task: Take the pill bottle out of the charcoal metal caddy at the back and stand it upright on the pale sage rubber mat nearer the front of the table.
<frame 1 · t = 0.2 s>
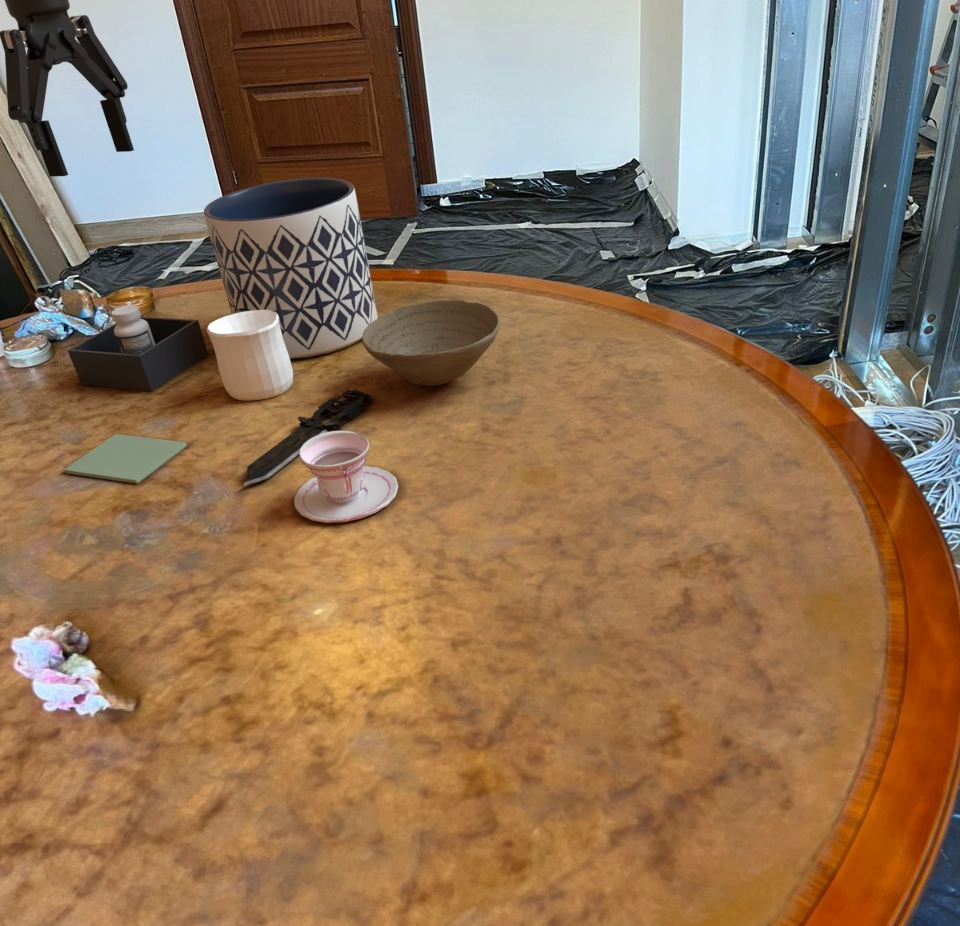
hand: (93, 163, 125), 28 cm above the table, tool pointing down, fingers open, 13 cm apart
pill bottle: (145, 367, 138), resting on caddy
caddy: (145, 368, 138), on the table
planter: (310, 334, 143), on the table
knife: (308, 442, 113), on the table
bowl: (437, 381, 123), on the table
mat: (126, 459, 114), on the table
cup: (262, 389, 128), on the table
teacup: (347, 497, 101), on the table
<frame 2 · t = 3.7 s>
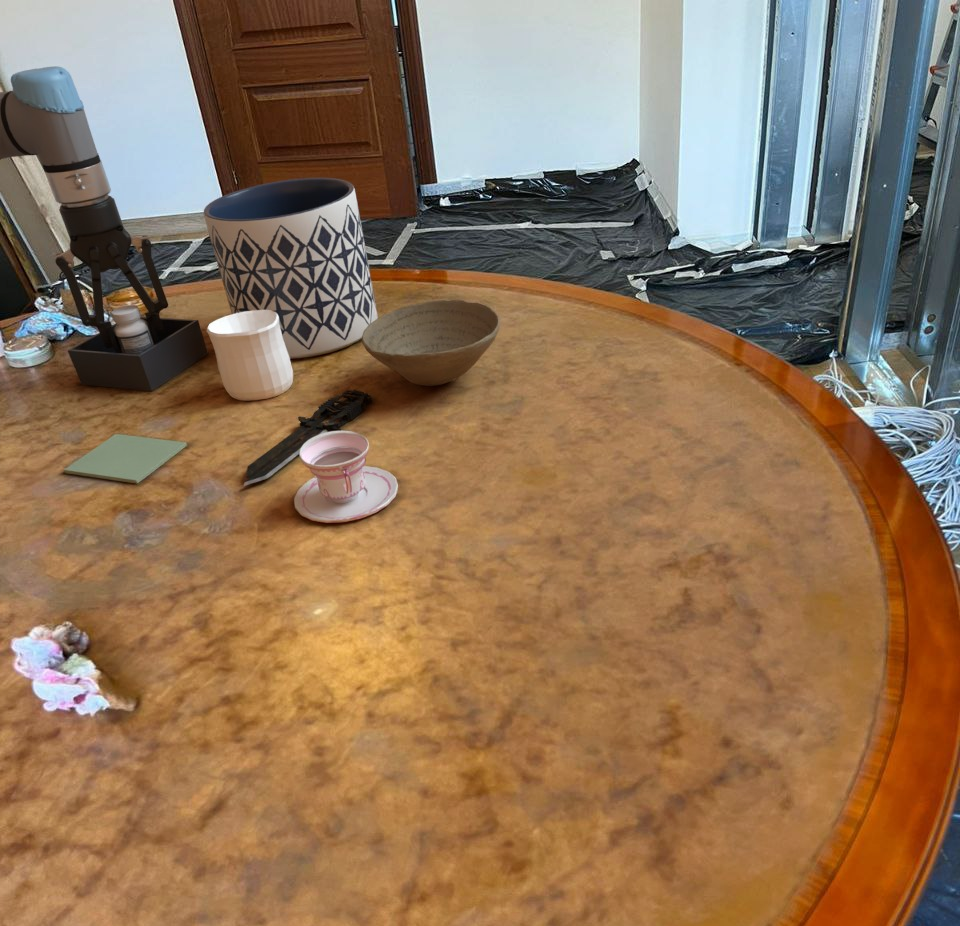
hand: (143, 360, 138), 1 cm above the table, tool pointing down, fingers closed on pill bottle, 5 cm apart
pill bottle: (145, 367, 138), resting on caddy, touching gripper
everything else where it was.
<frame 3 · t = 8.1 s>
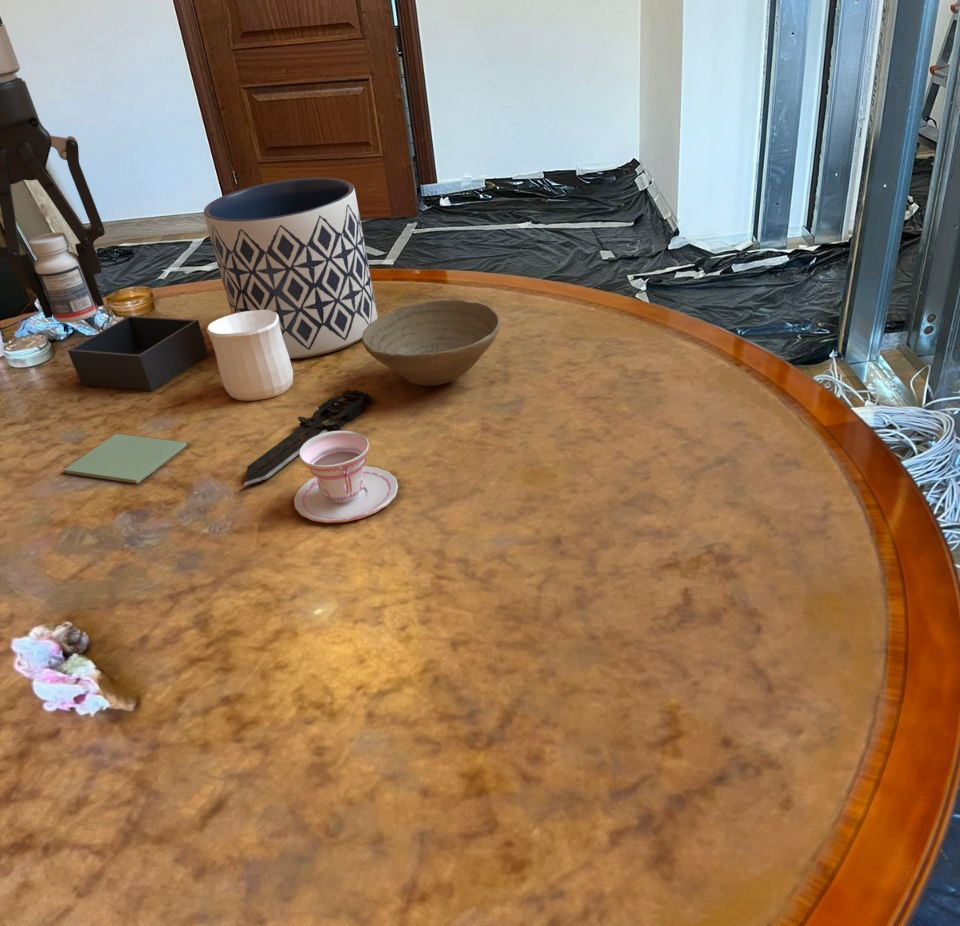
hand: (74, 308, 105), 18 cm above the table, tool pointing down, fingers closed on pill bottle, 5 cm apart
pill bottle: (78, 317, 106), point 17 cm above the table, touching gripper
everything else where it was.
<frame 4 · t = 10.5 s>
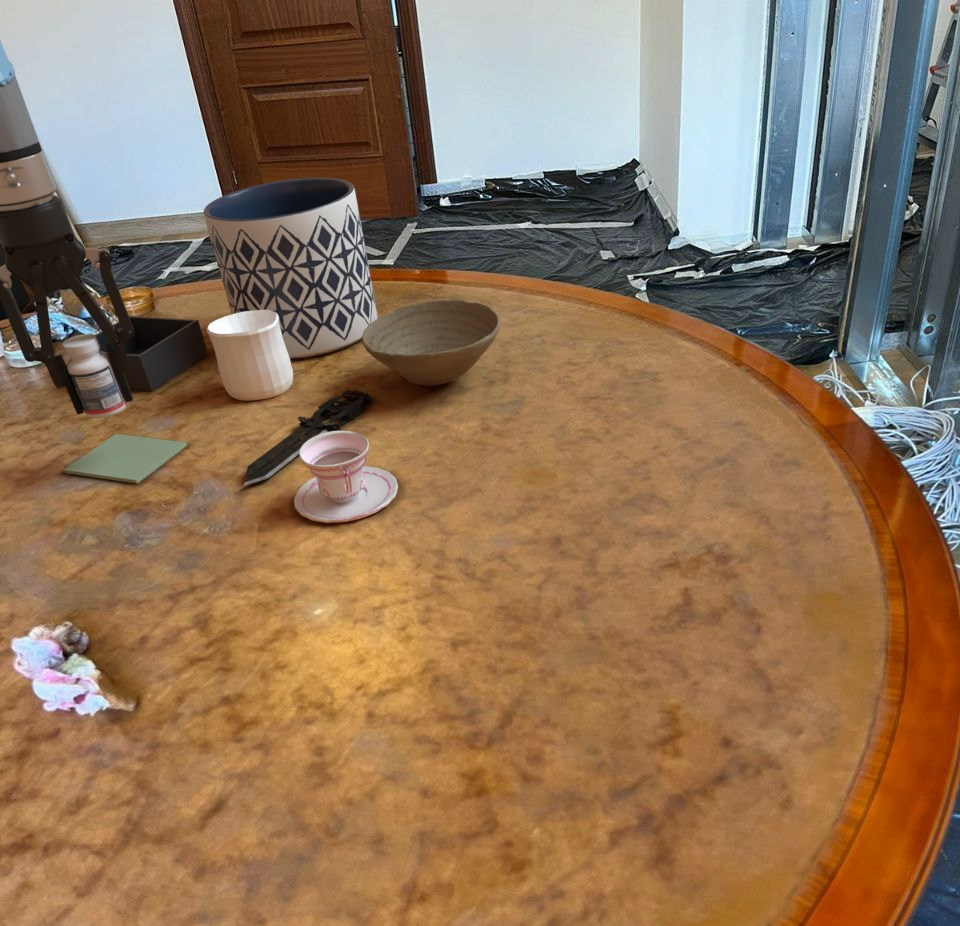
hand: (104, 403, 110), 8 cm above the table, tool pointing down, fingers closed on pill bottle, 5 cm apart
pill bottle: (107, 411, 110), point 7 cm above the table, touching gripper
everything else where it was.
when the fingers open (1 cm above the table, at t = 12.3 s): pill bottle stays where it is, resting on mat.
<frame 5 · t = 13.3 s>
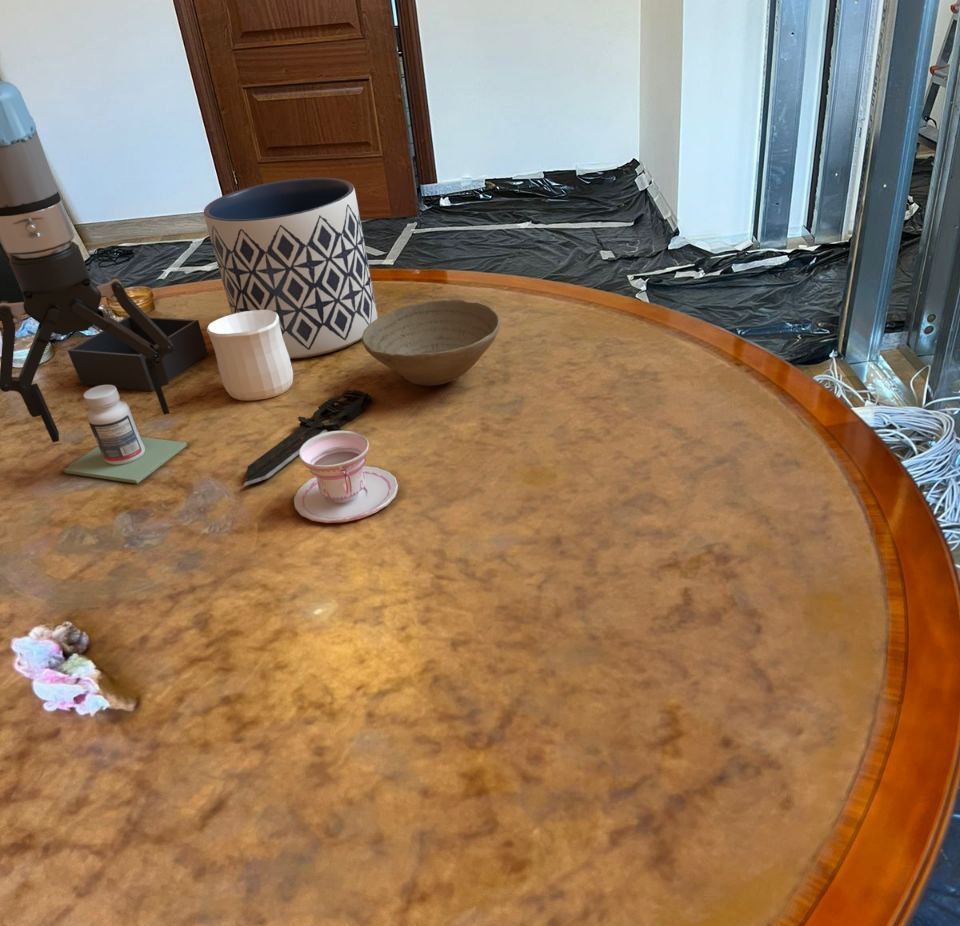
hand: (111, 423, 112), 5 cm above the table, tool pointing down, fingers open, 13 cm apart
pill bottle: (126, 457, 114), resting on mat
everything else where it was.
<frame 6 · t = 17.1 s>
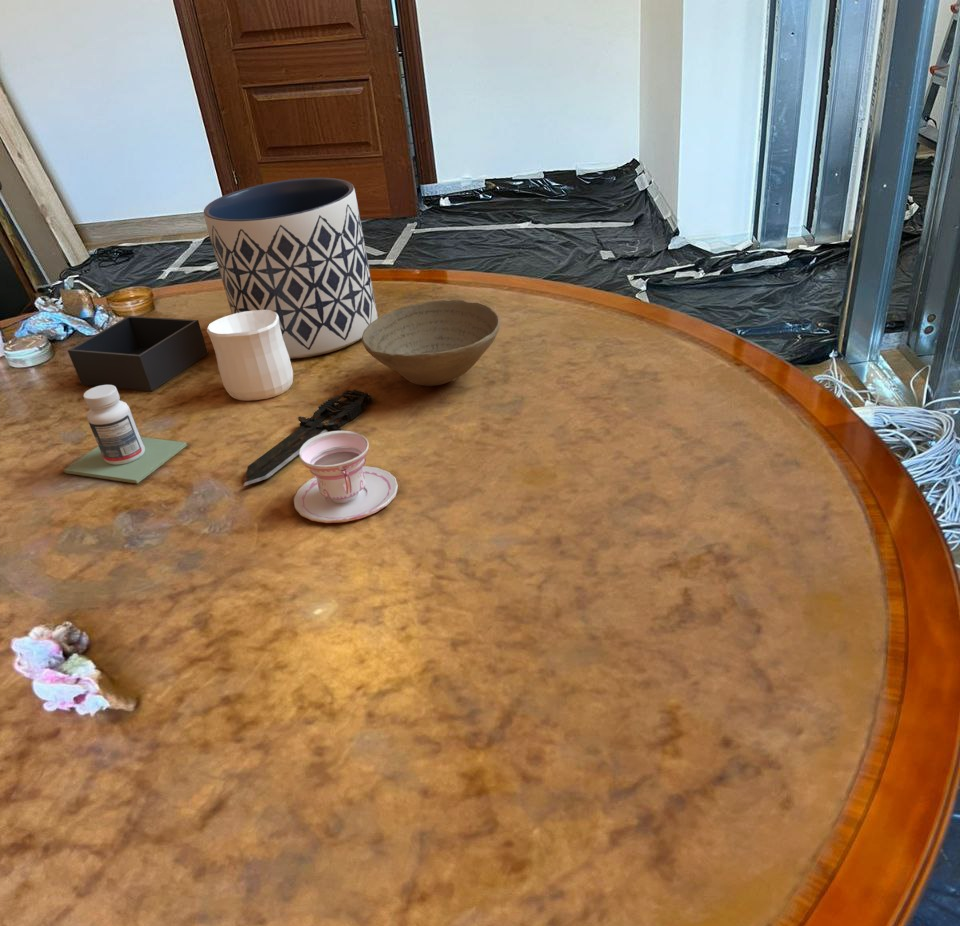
nothing on the table moved.
at the end: pill bottle inside the target area on the mat (0.0 cm from its centre), point 0.3 cm above the mat's base; pill bottle tilted 0°; pill bottle touching mat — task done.
